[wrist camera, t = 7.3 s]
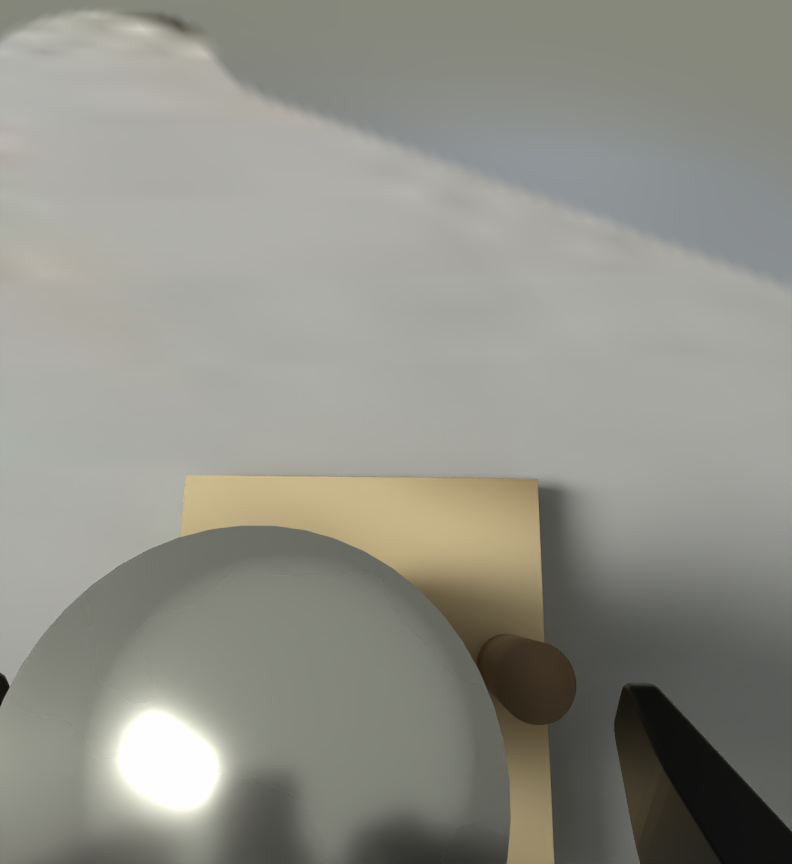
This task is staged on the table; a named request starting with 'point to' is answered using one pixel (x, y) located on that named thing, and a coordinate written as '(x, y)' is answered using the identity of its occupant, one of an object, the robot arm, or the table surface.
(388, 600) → the silver metal cylinder
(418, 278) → the table surface
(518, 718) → the peg rack
